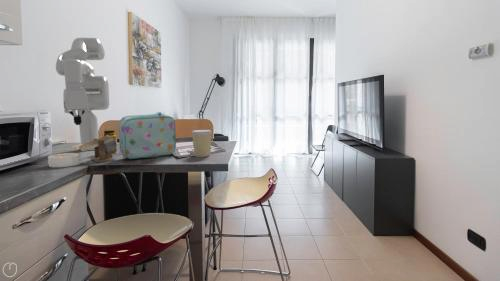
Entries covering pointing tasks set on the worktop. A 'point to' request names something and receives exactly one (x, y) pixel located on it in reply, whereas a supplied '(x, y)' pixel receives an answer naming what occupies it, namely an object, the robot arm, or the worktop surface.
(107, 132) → the condiment
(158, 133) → the lunch box
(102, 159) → the stand
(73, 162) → the bowl
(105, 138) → the lever
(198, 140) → the coffee cup
